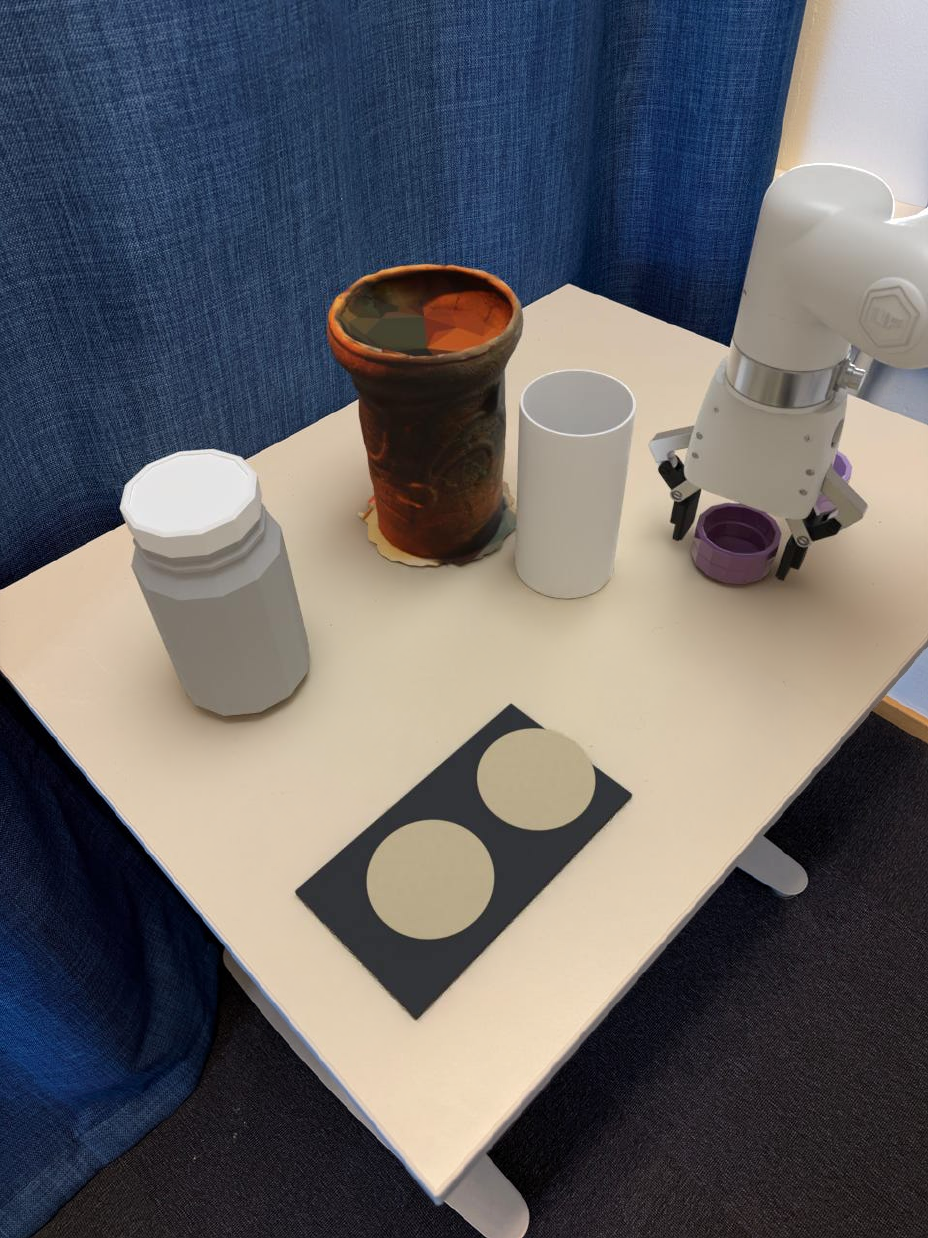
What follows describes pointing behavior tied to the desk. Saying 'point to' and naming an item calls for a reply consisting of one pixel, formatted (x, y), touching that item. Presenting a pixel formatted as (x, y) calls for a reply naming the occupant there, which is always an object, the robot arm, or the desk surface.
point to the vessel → (431, 406)
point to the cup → (571, 480)
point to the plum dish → (735, 543)
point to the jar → (217, 580)
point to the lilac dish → (844, 472)
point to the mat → (462, 855)
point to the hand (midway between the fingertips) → (733, 549)
